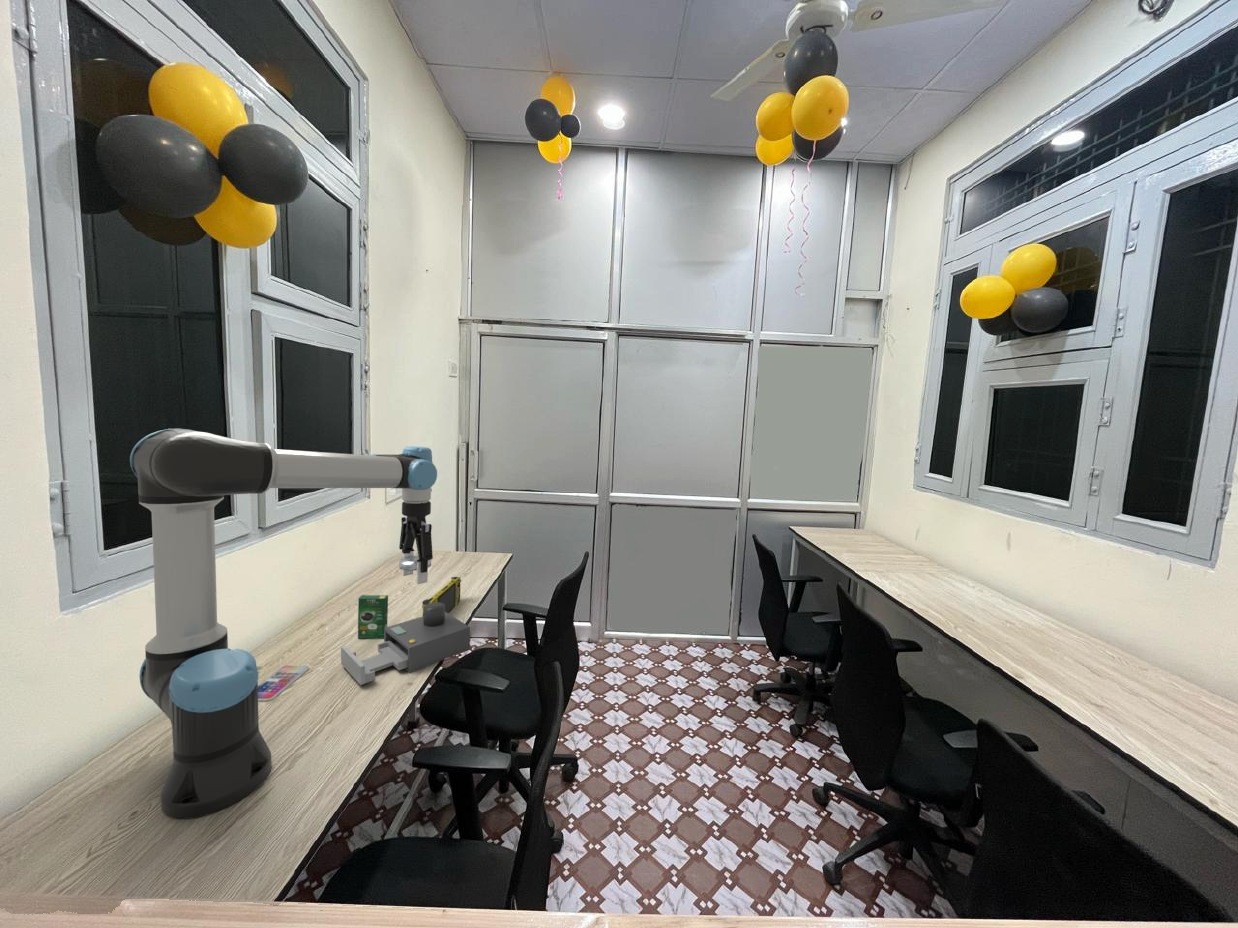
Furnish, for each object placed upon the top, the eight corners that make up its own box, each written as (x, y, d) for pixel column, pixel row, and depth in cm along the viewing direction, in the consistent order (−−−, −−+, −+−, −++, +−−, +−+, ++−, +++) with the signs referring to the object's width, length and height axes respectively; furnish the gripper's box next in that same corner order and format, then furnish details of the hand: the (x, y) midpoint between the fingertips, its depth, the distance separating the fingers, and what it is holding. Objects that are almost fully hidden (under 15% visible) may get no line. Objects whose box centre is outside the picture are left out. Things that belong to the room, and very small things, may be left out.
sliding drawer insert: (360, 685, 112) (360, 666, 112) (341, 663, 122) (340, 646, 121) (428, 659, 126) (428, 643, 125) (406, 641, 135) (406, 626, 134)
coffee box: (388, 634, 141) (388, 594, 140) (385, 638, 138) (385, 597, 137) (361, 635, 140) (360, 594, 139) (357, 639, 137) (357, 598, 136)
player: (409, 672, 121) (409, 630, 120) (384, 650, 131) (384, 611, 130) (469, 649, 134) (470, 610, 133) (442, 631, 145) (443, 595, 144)
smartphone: (311, 665, 121) (270, 699, 106) (311, 669, 121) (270, 703, 106) (283, 664, 121) (238, 698, 106) (283, 668, 121) (238, 702, 106)
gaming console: (432, 632, 144) (433, 602, 143) (420, 632, 144) (420, 602, 143) (463, 601, 169) (464, 575, 168) (452, 600, 169) (452, 575, 168)
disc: (407, 572, 123) (407, 566, 123) (394, 565, 128) (394, 559, 128) (436, 566, 129) (436, 560, 129) (422, 559, 135) (423, 554, 134)
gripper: (447, 505, 123) (445, 585, 125) (413, 494, 137) (411, 567, 139) (420, 508, 118) (418, 592, 119) (387, 496, 131) (386, 572, 133)
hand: (414, 578), depth 129 cm, fingers closed on disc, 8 cm apart
